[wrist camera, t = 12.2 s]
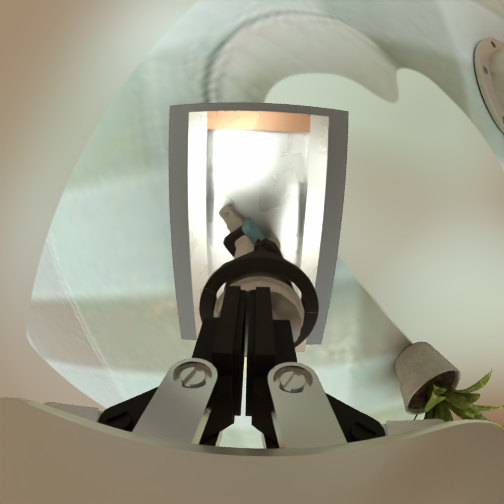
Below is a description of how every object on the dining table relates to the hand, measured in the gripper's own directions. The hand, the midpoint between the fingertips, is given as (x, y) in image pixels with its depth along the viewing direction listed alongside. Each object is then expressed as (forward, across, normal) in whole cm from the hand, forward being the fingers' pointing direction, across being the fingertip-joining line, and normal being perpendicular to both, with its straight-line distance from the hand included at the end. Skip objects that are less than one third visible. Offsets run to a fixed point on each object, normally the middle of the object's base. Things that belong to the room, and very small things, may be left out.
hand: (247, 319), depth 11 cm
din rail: (+11, 0, 0) cm, 11 cm away
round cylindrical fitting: (+10, 0, 0) cm, 10 cm away
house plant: (+12, -18, +14) cm, 26 cm away
